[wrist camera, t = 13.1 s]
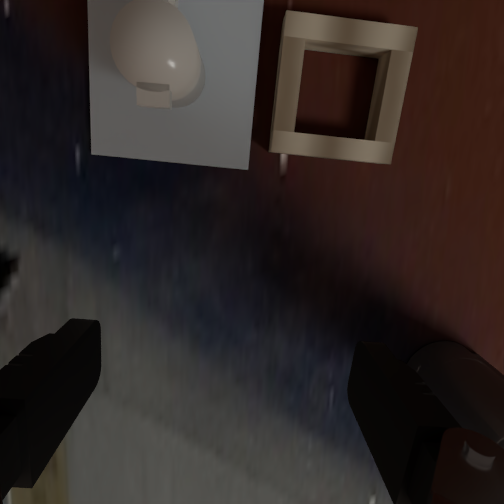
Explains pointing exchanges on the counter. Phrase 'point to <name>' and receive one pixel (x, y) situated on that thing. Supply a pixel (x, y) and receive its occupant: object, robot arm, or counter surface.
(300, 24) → the frame
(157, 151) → the pad
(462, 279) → the counter surface
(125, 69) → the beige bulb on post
